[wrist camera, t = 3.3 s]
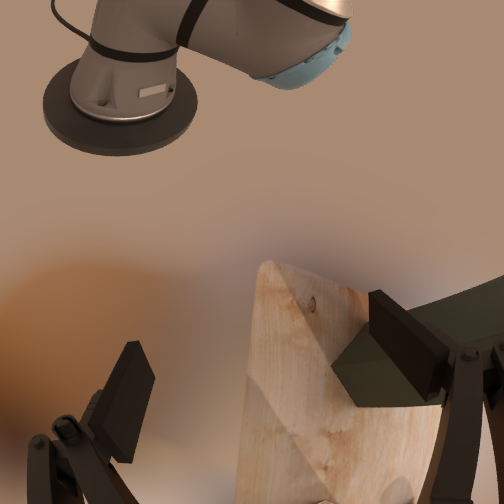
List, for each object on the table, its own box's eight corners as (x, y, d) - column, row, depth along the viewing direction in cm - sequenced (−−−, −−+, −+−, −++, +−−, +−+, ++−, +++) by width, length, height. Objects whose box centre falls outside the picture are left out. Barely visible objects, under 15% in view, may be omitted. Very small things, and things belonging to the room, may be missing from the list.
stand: (330, 366, 34) (549, 315, 12) (367, 321, 40) (540, 257, 18) (357, 407, 33) (555, 382, 11) (389, 361, 39) (553, 317, 17)
